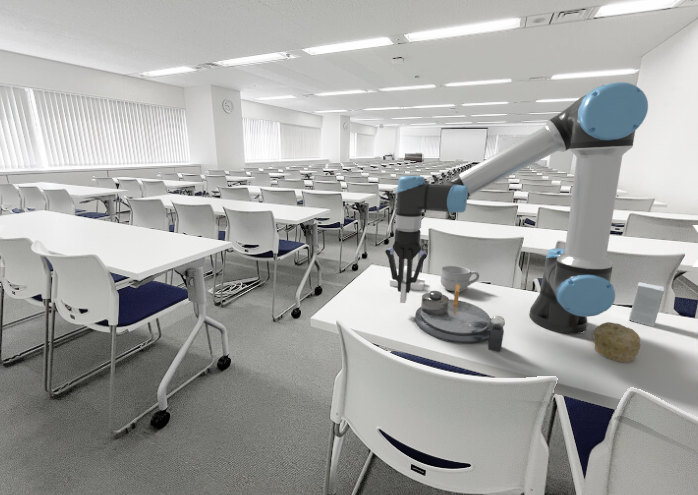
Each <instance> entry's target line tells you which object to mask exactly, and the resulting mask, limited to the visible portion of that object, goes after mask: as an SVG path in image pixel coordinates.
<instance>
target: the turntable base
mask: <svg viewBox="0 0 698 495" xmlns="http://www.w3.org/2000/svg"><path fill="white" fill-rule="evenodd" d="M420 313H421V306H419V307H418V308H417V310H416V311H415V316H414V319H415V320H414V321H415V323H416V325H417V327H419V329H420V330H422V331H423V332H424V333H426V334H428V335H430V336H431V337H433V338H437V339H439V340H441V341H445V342H448V343H455V344H461V345H463V344H467V345H468V344H470V345H471V344H473V345H474V344H478V343H479V344H480V343H483V342H486V341H488V339H489V332H490V325H491V324H492V323H491V319H492V318H491V317H490V324H489V328H488V330H487V331H485V332H484V333H481V334H478V335H472V336H459V335H452V334H447V333H444V332H441V331H438V330H436V329H433V328H432V327H430V326H428V325H427V324H426V323H425V322H424V321H423V320H422V319H421V315H420Z"/></svg>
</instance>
